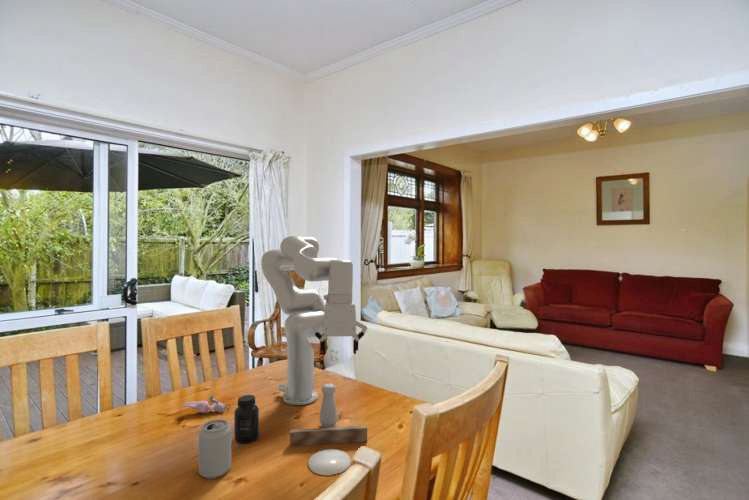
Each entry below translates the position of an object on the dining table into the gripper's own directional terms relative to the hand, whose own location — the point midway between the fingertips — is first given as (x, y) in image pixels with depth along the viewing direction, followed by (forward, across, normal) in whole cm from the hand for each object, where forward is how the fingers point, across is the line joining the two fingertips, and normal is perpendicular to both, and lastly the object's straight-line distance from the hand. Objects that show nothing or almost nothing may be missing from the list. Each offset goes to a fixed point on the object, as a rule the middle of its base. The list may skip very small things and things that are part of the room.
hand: (339, 352), depth 119 cm
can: (+23, -31, -22) cm, 44 cm away
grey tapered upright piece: (+23, -3, -1) cm, 23 cm away
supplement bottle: (+23, -27, -6) cm, 36 cm away
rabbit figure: (+24, -44, +12) cm, 51 cm away
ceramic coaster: (+23, -2, -20) cm, 31 cm away
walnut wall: (+23, -3, -11) cm, 25 cm away
